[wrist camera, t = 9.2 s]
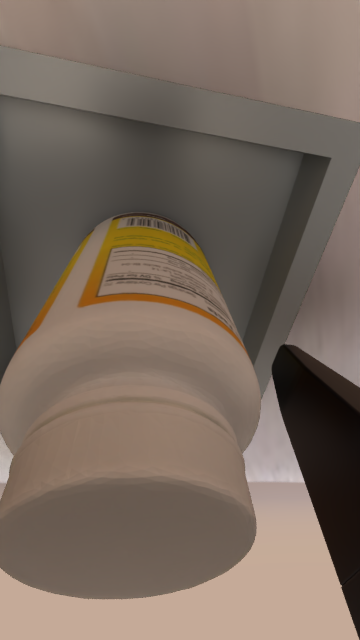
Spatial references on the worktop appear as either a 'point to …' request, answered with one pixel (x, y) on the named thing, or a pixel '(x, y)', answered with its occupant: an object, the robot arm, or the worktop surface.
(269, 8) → the worktop surface
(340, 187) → the tray
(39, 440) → the supplement bottle
